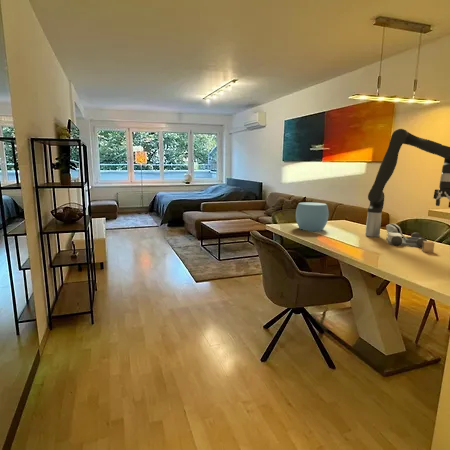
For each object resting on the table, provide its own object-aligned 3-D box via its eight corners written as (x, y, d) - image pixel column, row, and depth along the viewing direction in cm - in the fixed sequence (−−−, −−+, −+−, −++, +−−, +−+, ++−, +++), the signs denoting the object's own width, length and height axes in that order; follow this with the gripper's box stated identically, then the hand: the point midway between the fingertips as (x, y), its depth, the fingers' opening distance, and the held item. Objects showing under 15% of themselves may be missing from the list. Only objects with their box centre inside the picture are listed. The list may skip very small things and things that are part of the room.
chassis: (389, 245, 207) (390, 235, 206) (385, 238, 225) (386, 230, 224) (429, 248, 199) (430, 238, 198) (422, 241, 218) (423, 233, 217)
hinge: (405, 238, 228) (402, 225, 226) (398, 240, 228) (395, 227, 226) (394, 233, 244) (390, 221, 243) (387, 235, 244) (384, 223, 243)
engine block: (423, 252, 190) (424, 242, 189) (421, 250, 194) (422, 240, 193) (433, 253, 188) (434, 243, 187) (431, 251, 193) (432, 241, 192)
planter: (324, 227, 268) (325, 202, 264) (330, 233, 243) (332, 206, 240) (293, 226, 270) (294, 201, 267) (296, 231, 246) (298, 205, 242)
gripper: (432, 180, 208) (429, 205, 211) (453, 181, 195) (449, 208, 198) (441, 180, 210) (438, 205, 213) (463, 181, 197) (459, 208, 200)
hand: (443, 206), depth 205 cm, fingers open, 8 cm apart
